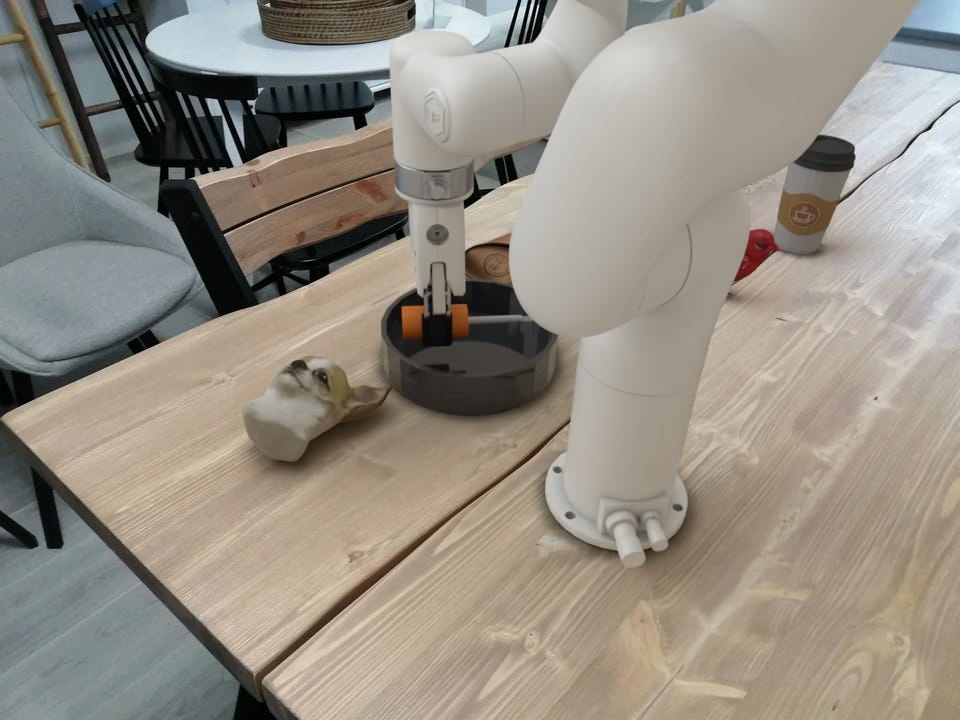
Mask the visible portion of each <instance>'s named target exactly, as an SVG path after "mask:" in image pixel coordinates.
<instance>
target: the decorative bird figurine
mask: <svg viewBox="0 0 960 720" xmlns="http://www.w3.org/2000/svg"><path fill="white" fill-rule="evenodd" d="M775 251H777V252H781V251H782V249H780V248H779V247H778V246H777V244H776V243H775V240H774V234H772V232H771V231H770V230H768V229H765V228H756V229H750V233H749V239H748V243H747V247H746V250H745V254H744V257H743V259H742V262H741V265H740V267H739V270H738V272H737V274H736V277H735V279H734V281H733V283H735V282H738V281H741V280H743V279H745V278H747V277H749V276H751V275H752V274H753V273H754V272H755V271H756V270H757V269H758V268H759V266H760V265H761V264H762V263H763V261H766V260H767V259H768V257H769V256H770V254H771V252H775ZM727 295H730V296H734V294H733V293H731V292H728V294H727Z"/></svg>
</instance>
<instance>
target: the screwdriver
mask: <svg viewBox="0 0 960 720" xmlns="http://www.w3.org/2000/svg"><path fill="white" fill-rule="evenodd" d="M451 312H452V315H453V321H452V338H459V337H468V333H469V324H487V323H511V322H520V331H521V334H532V325H533V320H532V319H531V318H530V317H529V316H522V315H504V316H478V317H468V308H467V305H466V304H455V305H451ZM421 313H424V306H402V324H403V340H411V339H422V314H421Z"/></svg>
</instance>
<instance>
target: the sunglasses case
mask: <svg viewBox="0 0 960 720" xmlns="http://www.w3.org/2000/svg"><path fill="white" fill-rule="evenodd" d="M511 234H512V231H511V232H509V233H506V234H502V235H500V236H498V237H496V238H494V239H491V240H489V241H486V242H482V243H478V244H475V245H472V246H470V247H469V248H467V249H465V276H467V277H469V278H472V279H473V278H475V279H486V280H495V281H499V282H503V283H507V284H512V281H511V276H510V269H509V247H510V239H511ZM512 285H513V284H512Z"/></svg>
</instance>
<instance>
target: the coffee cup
mask: <svg viewBox="0 0 960 720" xmlns="http://www.w3.org/2000/svg"><path fill="white" fill-rule="evenodd" d="M855 151H856V147H855V145H854V143H852V142H850V141H848V140H846V139H844V138H841V137H837V136H833V135H827V134H819V135H818V136H817V137H816V139H815V140H814V141H813V142H812V144H811V145H810V146H809V147H808V149H807V150H806V151H805V152H804V153H803V154H802V155H801V156H800V157H799V158H798V159H797V160H795V161H794V162H793V163H792V164H790V165H789V166H787V169H786V175H785V179H784V184H783V186H782V191H781V195H780V201H779V205H778V211H777V216H776V223H775V228H774V232H773V237H774V240H775V241H774V242H775V243H776V244H777V246H778V247H779V248H780V250H781V251H782V250H783V251H784V252H786V253H790V254H795V255H810V254H813V253H815V252H816V251H817V249H819V248H820V246H821V244H822V242H823V240H824V237H825V234H826V233H827V229H828V228H829V226H830V223H831V222H832V219H833V217H834V214H835V212H836V209H837V207H838V204H839V202H840V200H841V195H842V192H843V190H844V188H845V186H846V183H847V181H848V178H849V175H850V173H851V171H852V169H854V168H855V161H856V158H857V157H856V154H855Z"/></svg>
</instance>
